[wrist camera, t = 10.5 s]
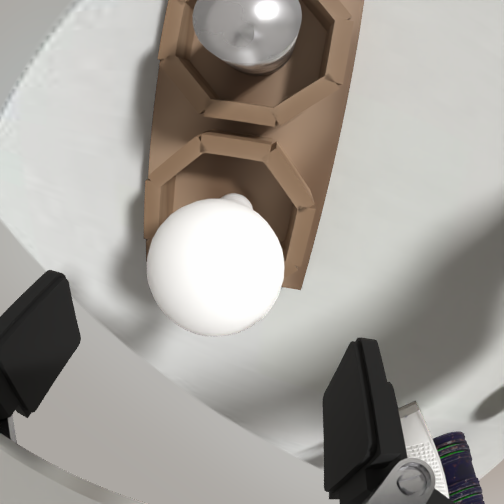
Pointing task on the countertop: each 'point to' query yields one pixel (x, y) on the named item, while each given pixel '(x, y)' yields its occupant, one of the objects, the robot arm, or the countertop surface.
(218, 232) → the lightbulb
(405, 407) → the skyscraper
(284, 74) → the socket board
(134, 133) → the countertop surface
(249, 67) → the grey domed cylinder
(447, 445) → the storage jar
